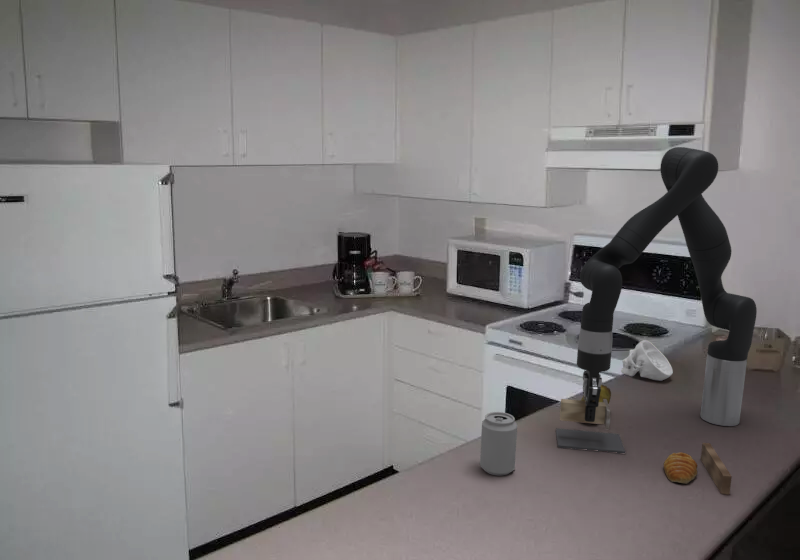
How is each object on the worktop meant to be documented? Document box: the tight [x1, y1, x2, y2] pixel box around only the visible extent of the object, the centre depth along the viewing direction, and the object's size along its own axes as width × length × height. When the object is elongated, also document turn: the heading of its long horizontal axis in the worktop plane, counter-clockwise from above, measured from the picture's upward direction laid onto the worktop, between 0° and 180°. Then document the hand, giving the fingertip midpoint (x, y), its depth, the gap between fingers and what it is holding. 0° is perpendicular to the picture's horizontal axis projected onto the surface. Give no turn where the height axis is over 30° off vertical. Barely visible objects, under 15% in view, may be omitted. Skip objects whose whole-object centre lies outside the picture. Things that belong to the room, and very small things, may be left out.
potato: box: [581, 384, 612, 405], centre depth 174 cm, size 8×13×8 cm, turn 129°
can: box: [479, 411, 518, 476], centre depth 143 cm, size 8×8×12 cm
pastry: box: [663, 451, 698, 485], centre depth 143 cm, size 9×7×4 cm
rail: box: [700, 442, 733, 496], centre depth 143 cm, size 16×2×4 cm, turn 170°
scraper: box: [559, 398, 612, 430], centre depth 158 cm, size 11×8×4 cm
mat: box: [555, 427, 626, 454], centre depth 159 cm, size 10×15×1 cm, turn 80°
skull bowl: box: [620, 339, 674, 382], centre depth 208 cm, size 10×14×12 cm
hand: (588, 418), depth 158 cm, fingers closed on scraper, 2 cm apart
